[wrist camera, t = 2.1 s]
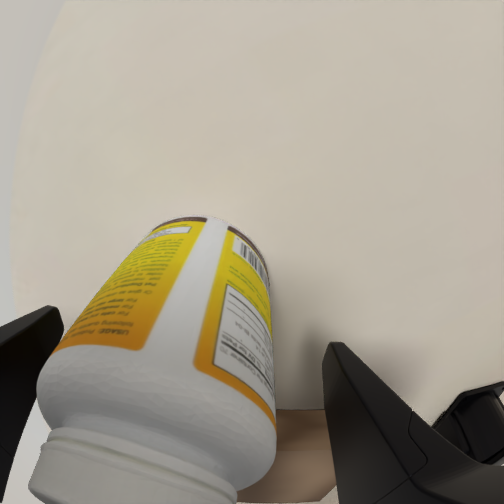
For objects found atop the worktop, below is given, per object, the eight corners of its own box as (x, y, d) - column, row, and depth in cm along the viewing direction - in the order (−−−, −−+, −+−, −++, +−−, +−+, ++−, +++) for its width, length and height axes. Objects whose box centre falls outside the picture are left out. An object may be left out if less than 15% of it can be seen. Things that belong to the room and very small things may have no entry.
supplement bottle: (127, 296, 13) (21, 493, 3) (162, 187, 11) (-62, 405, 1) (236, 343, 14) (215, 561, 4) (294, 247, 12) (352, 544, 2)
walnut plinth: (362, 407, 16) (372, 444, 13) (316, 475, 21) (319, 501, 18) (172, 399, 16) (161, 438, 13) (187, 469, 21) (182, 495, 18)
